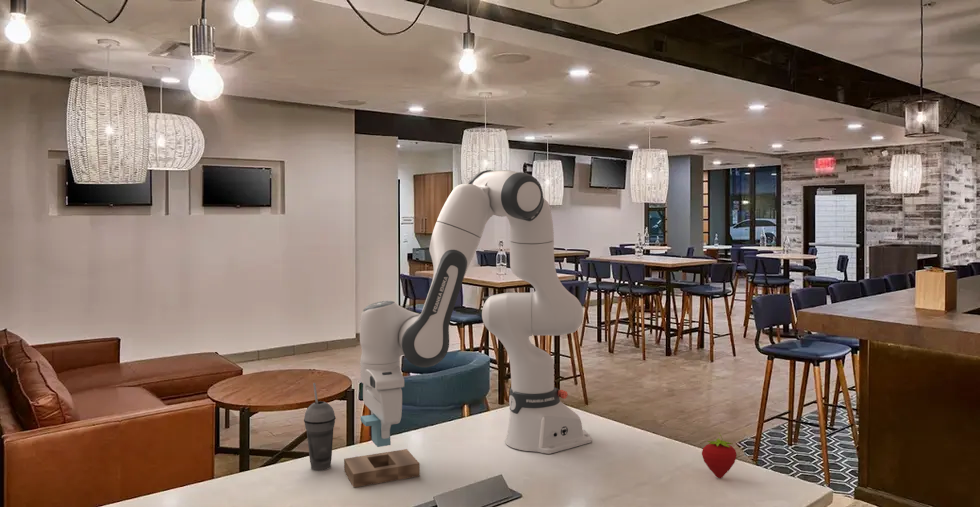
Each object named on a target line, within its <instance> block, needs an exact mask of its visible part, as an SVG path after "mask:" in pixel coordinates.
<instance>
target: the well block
mask: <svg viewBox="0 0 980 507" xmlns="http://www.w3.org/2000/svg"><path fill="white" fill-rule="evenodd" d="M343 465H344V466H343V470H344V471H343V472H344V473H345V475H346V476H347V479H348V480H349V482H350V484H351V486H352V487H353V488H359V487H365V486H371V485H377V484H381V483H388V482H394V481H401V480H405V479H411V478H417V477H420V476H421V475H420V474H421V473H420V471H421V470H420V465H421V464H420V462H419V461H418V460H417V459H416V457H415V456H413V454H412V453H411V452H410V451H409V449H407V448H403V449H398V450H397V449H396V450H391V451H386V452H385V451H384V452H379V453H378V452H377V453H373V454H366V455H361V456H353V457H346V458H343Z"/></svg>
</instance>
